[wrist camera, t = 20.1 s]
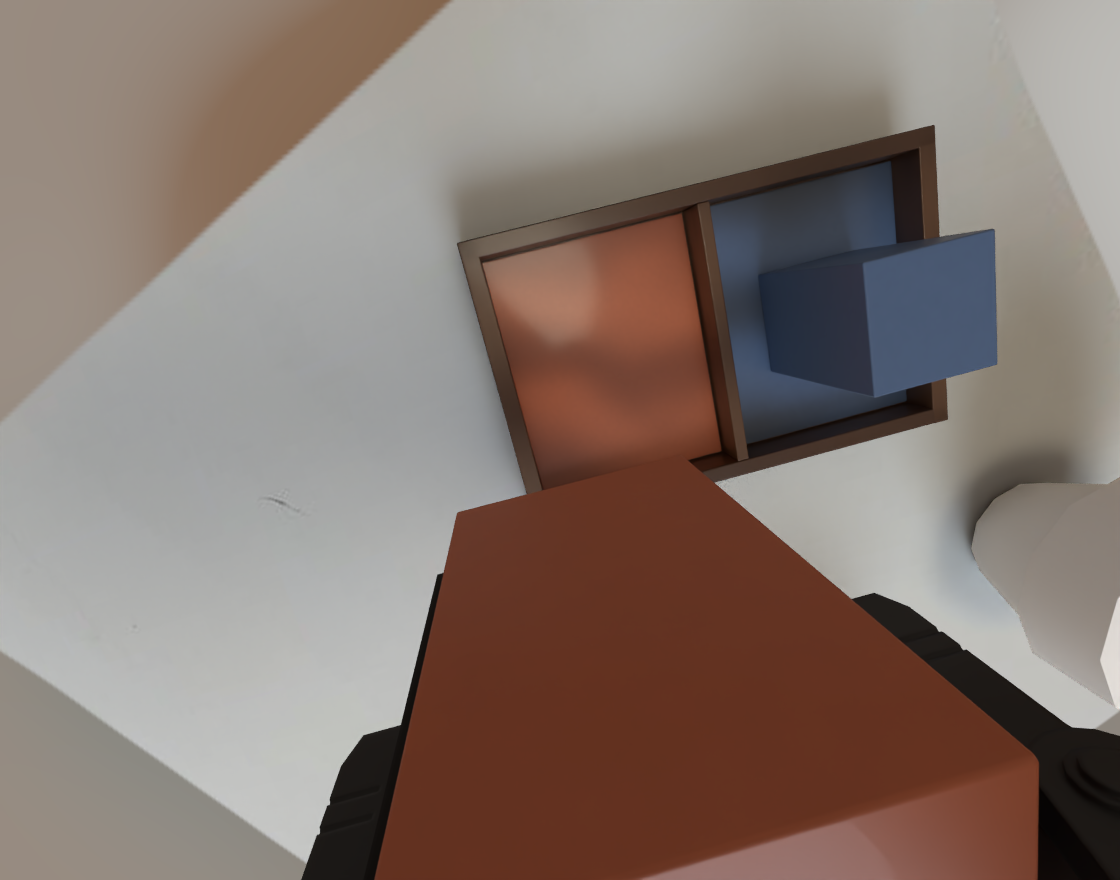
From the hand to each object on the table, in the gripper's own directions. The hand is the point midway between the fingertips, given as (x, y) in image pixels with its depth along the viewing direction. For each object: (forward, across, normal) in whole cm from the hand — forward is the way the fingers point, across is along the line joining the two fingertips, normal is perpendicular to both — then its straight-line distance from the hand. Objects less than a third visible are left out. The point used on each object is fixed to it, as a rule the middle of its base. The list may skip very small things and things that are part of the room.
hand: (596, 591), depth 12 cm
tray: (+17, +9, +2) cm, 19 cm away
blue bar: (+16, +15, +2) cm, 22 cm away
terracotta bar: (0, 0, 0) cm, 0 cm away
